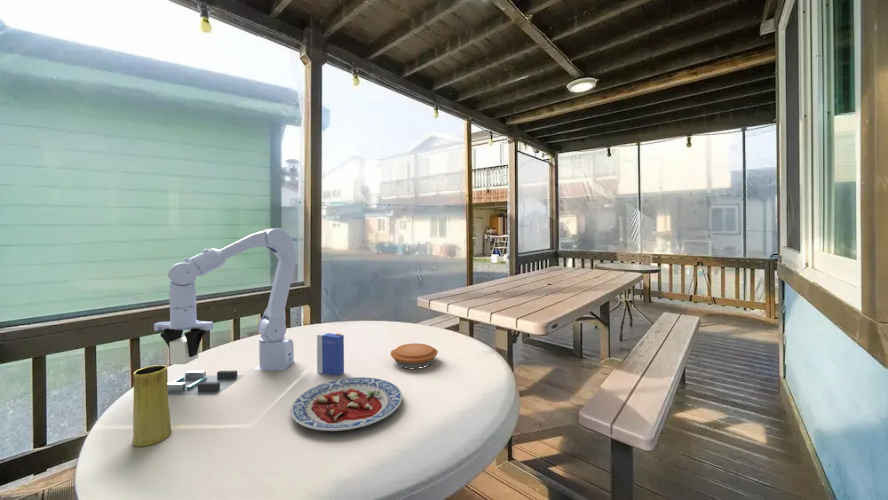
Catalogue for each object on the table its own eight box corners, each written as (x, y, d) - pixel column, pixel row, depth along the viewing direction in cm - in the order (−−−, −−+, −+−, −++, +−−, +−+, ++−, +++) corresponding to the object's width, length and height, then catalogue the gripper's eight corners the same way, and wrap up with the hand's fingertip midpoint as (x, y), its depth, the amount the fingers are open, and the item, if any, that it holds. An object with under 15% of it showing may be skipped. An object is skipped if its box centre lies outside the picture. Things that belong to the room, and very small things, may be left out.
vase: (178, 432, 71) (176, 366, 70) (144, 450, 65) (142, 377, 65) (159, 427, 73) (157, 362, 72) (124, 443, 67) (122, 373, 67)
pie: (446, 360, 113) (446, 345, 113) (419, 376, 100) (419, 359, 100) (410, 351, 122) (410, 338, 122) (380, 365, 109) (380, 350, 108)
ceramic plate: (294, 454, 64) (294, 438, 64) (287, 397, 87) (287, 385, 87) (418, 420, 76) (418, 407, 76) (384, 378, 99) (384, 368, 99)
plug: (198, 357, 95) (197, 336, 95) (185, 364, 90) (184, 342, 90) (184, 357, 95) (183, 336, 95) (170, 364, 90) (169, 342, 90)
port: (209, 377, 97) (209, 370, 97) (186, 391, 88) (186, 384, 88) (184, 377, 97) (184, 371, 97) (158, 392, 88) (158, 384, 88)
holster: (237, 377, 98) (237, 370, 97) (217, 391, 89) (216, 384, 88) (219, 377, 97) (219, 370, 97) (197, 391, 88) (197, 384, 88)
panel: (243, 377, 99) (243, 375, 99) (217, 396, 87) (217, 394, 87) (188, 377, 99) (188, 375, 99) (154, 397, 87) (154, 394, 87)
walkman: (344, 372, 103) (343, 333, 102) (338, 376, 100) (338, 336, 100) (323, 369, 105) (322, 331, 105) (316, 372, 103) (316, 333, 102)
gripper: (143, 309, 88) (145, 361, 88) (199, 309, 88) (201, 360, 89) (165, 304, 95) (166, 352, 95) (217, 304, 95) (218, 351, 96)
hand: (184, 355), depth 92 cm, fingers closed on plug, 4 cm apart
